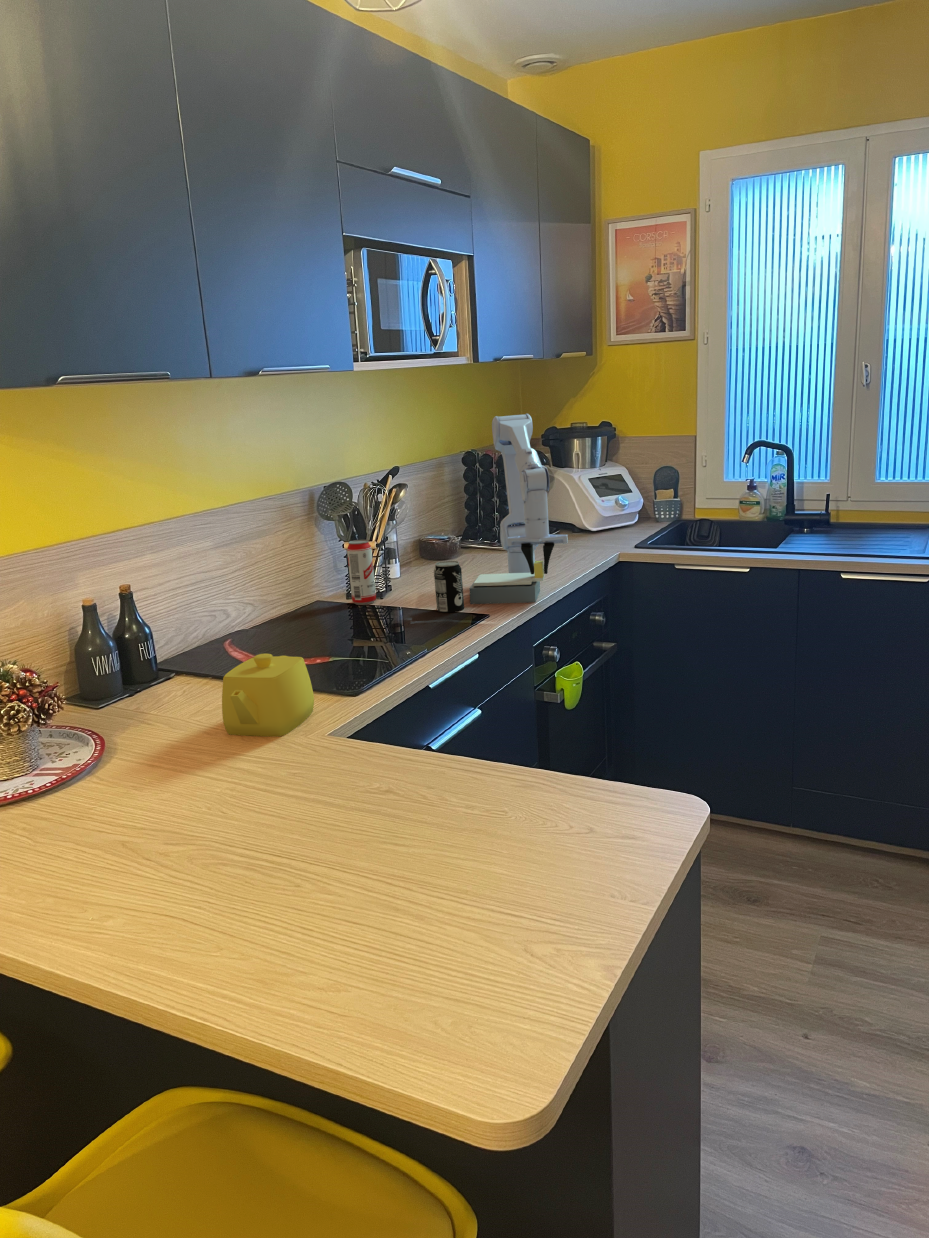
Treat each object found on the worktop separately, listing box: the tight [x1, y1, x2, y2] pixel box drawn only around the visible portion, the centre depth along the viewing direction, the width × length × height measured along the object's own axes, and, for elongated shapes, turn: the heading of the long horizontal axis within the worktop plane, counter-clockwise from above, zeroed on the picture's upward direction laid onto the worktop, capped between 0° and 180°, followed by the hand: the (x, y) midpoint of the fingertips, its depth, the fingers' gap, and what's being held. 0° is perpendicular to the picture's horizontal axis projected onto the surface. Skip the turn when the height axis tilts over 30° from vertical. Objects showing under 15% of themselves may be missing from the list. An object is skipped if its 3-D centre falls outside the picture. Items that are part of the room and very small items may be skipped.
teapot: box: [221, 653, 315, 738], centre depth 150 cm, size 20×12×12 cm, turn 165°
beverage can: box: [433, 560, 465, 614], centre depth 216 cm, size 7×7×12 cm
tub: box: [468, 579, 541, 605], centre depth 225 cm, size 12×16×4 cm
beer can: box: [346, 539, 377, 606], centre depth 232 cm, size 6×6×16 cm
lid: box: [473, 560, 545, 586], centre depth 224 cm, size 10×17×4 cm, turn 80°
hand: (539, 573), depth 223 cm, fingers open, 3 cm apart
